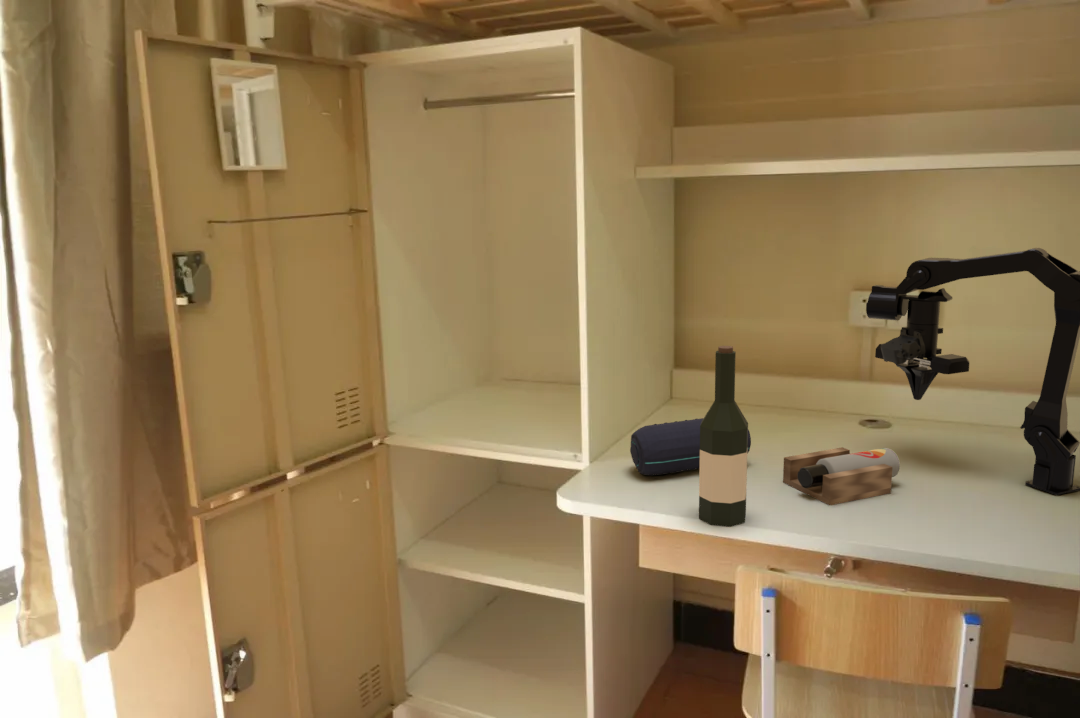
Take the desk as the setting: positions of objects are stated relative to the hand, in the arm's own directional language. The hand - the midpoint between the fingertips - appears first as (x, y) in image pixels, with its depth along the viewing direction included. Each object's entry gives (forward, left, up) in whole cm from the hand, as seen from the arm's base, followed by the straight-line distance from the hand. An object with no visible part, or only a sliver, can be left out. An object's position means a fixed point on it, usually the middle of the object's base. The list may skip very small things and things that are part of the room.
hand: (917, 399), depth 166 cm
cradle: (+24, +5, -13) cm, 28 cm away
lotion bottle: (+13, +7, -9) cm, 17 cm away
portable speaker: (+43, -16, -13) cm, 48 cm away
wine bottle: (+51, +8, -13) cm, 53 cm away
